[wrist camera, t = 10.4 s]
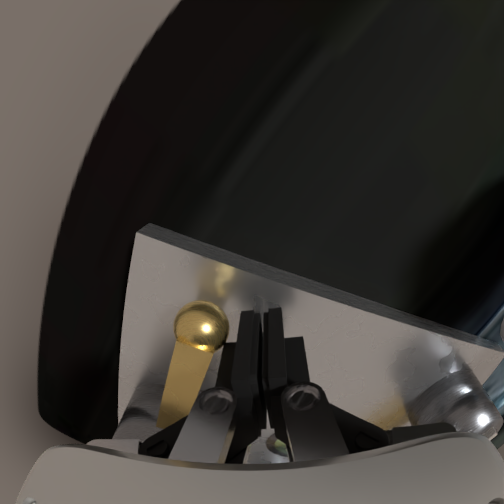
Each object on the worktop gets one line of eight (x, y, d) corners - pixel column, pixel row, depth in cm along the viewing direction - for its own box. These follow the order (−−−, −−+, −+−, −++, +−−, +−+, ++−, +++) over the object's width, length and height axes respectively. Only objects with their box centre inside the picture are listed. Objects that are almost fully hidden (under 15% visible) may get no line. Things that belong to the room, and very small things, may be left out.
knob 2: (459, 358, 13) (498, 418, 8) (483, 382, 15) (512, 429, 9) (317, 461, 18) (323, 517, 13) (360, 470, 19) (369, 517, 14)
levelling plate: (497, 342, 15) (507, 354, 13) (352, 483, 23) (353, 494, 21) (149, 222, 13) (135, 233, 11) (123, 441, 21) (118, 453, 19)
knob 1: (207, 444, 17) (196, 506, 12) (130, 418, 17) (106, 477, 11) (282, 303, 12) (289, 403, 7) (152, 258, 12) (86, 333, 7)
